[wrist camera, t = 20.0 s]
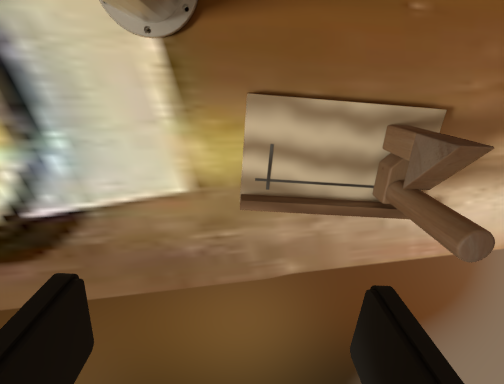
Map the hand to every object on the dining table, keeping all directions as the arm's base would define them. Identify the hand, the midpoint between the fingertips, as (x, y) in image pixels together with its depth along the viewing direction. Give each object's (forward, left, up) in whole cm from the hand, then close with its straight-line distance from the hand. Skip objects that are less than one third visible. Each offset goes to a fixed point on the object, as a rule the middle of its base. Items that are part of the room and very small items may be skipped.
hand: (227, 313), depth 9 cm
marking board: (+2, +15, -34) cm, 37 cm away
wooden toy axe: (+2, +23, -32) cm, 40 cm away
